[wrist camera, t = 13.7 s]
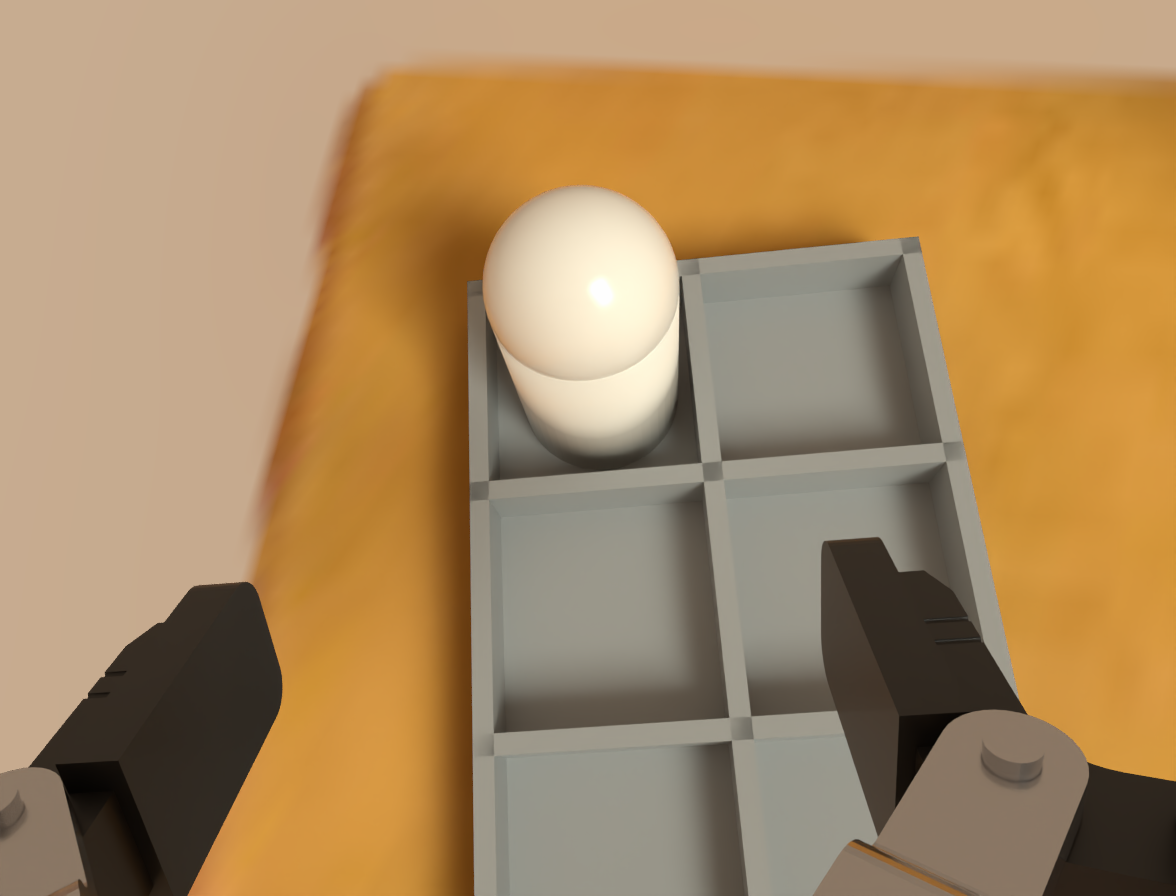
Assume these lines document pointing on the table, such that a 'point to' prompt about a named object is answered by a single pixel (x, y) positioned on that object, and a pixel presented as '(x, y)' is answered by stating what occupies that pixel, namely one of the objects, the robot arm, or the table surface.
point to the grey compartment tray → (706, 584)
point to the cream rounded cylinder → (587, 323)
